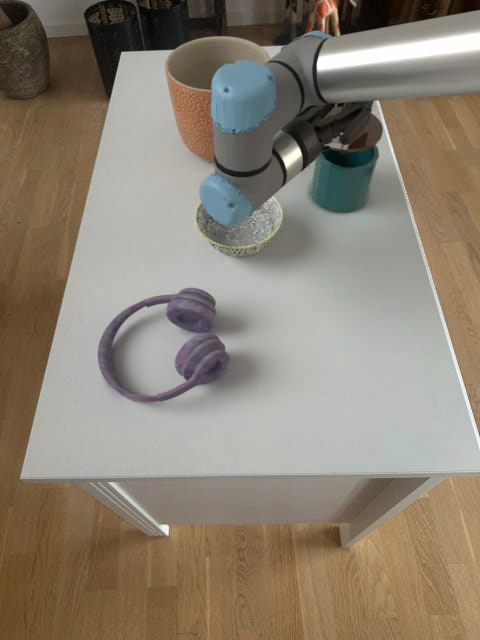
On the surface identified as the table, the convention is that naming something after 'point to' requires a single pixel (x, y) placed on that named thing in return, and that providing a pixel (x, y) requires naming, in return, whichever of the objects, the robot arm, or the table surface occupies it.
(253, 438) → the table surface
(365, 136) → the jar lid
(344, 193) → the storage jar
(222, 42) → the planter
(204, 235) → the bowl
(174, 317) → the headphones
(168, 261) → the table surface
